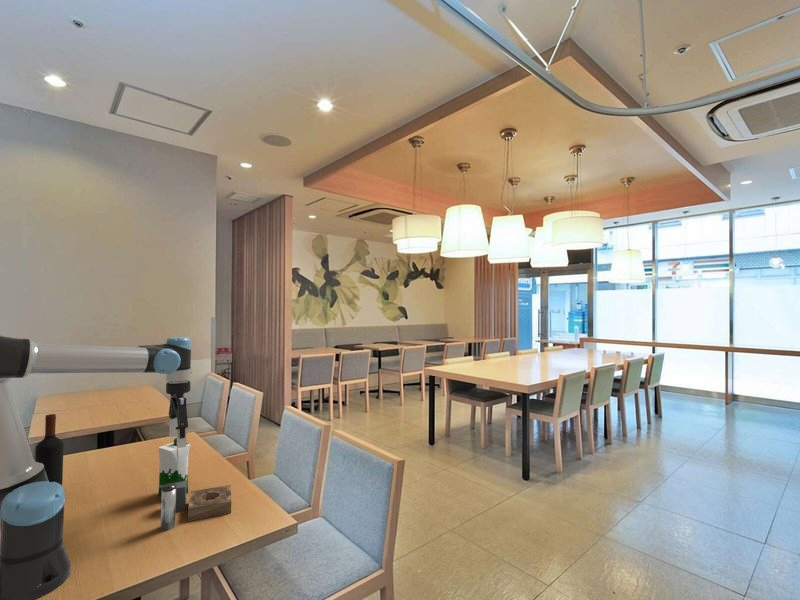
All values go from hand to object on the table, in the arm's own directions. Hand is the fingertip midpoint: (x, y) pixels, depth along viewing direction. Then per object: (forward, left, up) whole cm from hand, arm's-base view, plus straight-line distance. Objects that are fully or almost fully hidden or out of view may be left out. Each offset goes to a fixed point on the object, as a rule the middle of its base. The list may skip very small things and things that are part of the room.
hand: (177, 441), depth 138 cm
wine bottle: (+23, +42, -23) cm, 53 cm away
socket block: (-6, -11, -23) cm, 26 cm away
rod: (-14, +1, -23) cm, 26 cm away
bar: (-2, -1, -23) cm, 23 cm away
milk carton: (+10, +2, -23) cm, 25 cm away
